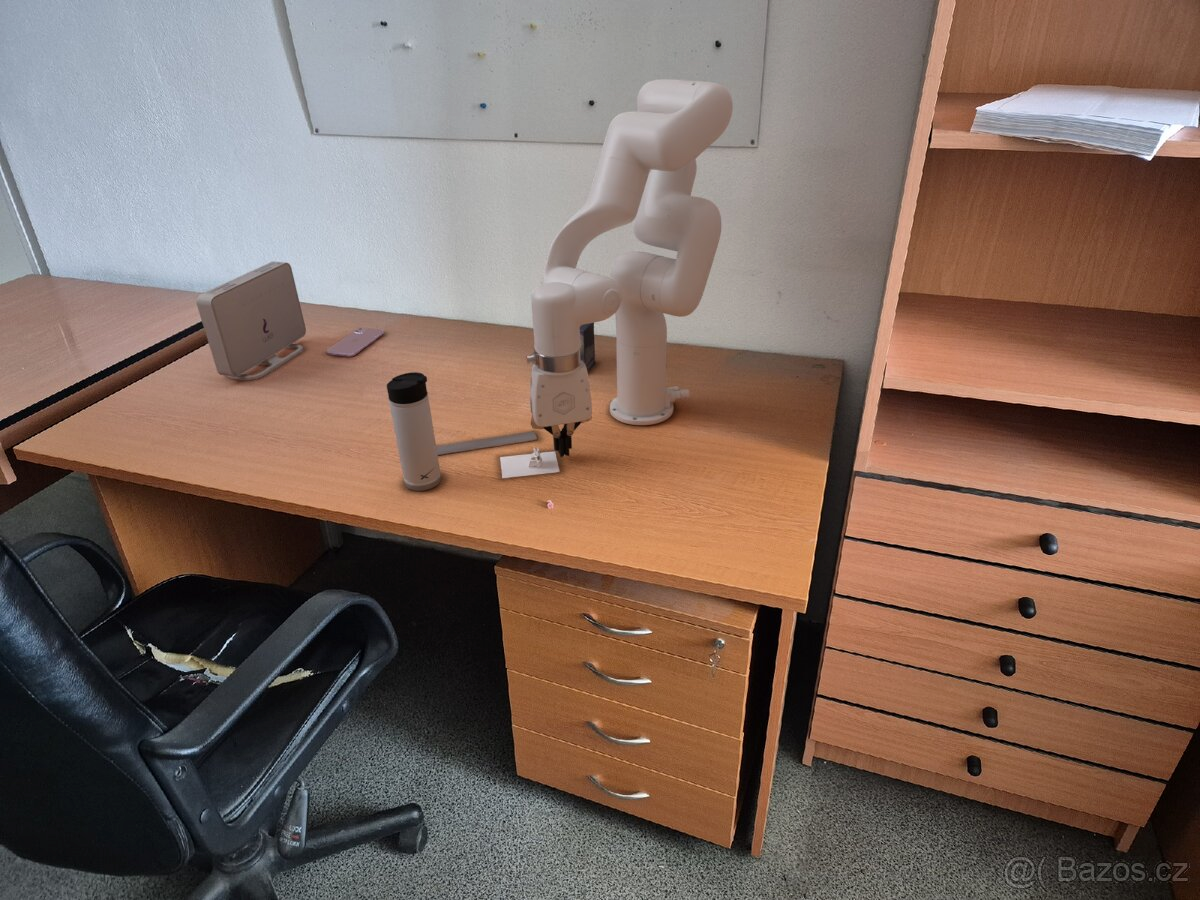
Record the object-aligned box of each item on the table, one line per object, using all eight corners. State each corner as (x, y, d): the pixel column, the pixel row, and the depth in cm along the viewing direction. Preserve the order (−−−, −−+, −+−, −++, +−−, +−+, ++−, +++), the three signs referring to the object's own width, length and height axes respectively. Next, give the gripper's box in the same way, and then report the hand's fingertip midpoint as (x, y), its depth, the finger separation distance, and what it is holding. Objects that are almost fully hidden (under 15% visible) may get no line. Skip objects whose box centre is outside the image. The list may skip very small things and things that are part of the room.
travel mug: (435, 493, 132) (417, 387, 121) (398, 489, 133) (378, 384, 123) (448, 473, 137) (432, 370, 127) (413, 470, 138) (394, 367, 128)
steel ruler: (534, 432, 149) (534, 431, 148) (537, 440, 146) (537, 438, 146) (428, 448, 144) (427, 447, 144) (429, 457, 142) (429, 455, 142)
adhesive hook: (543, 467, 138) (542, 452, 136) (529, 469, 137) (527, 454, 136) (541, 459, 140) (540, 444, 139) (527, 460, 140) (526, 445, 138)
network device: (244, 388, 168) (218, 299, 158) (211, 383, 171) (183, 296, 160) (316, 342, 189) (297, 261, 179) (286, 338, 191) (266, 258, 181)
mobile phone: (323, 350, 182) (358, 326, 194) (324, 354, 182) (359, 330, 194) (351, 353, 180) (385, 329, 192) (352, 357, 180) (386, 333, 192)
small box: (541, 368, 173) (537, 323, 167) (553, 356, 178) (550, 313, 173) (585, 375, 169) (583, 329, 164) (596, 363, 174) (595, 318, 169)
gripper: (517, 373, 125) (525, 470, 134) (607, 361, 128) (609, 456, 138) (509, 355, 131) (518, 448, 141) (595, 344, 135) (598, 436, 144)
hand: (563, 452), depth 139 cm, fingers closed
